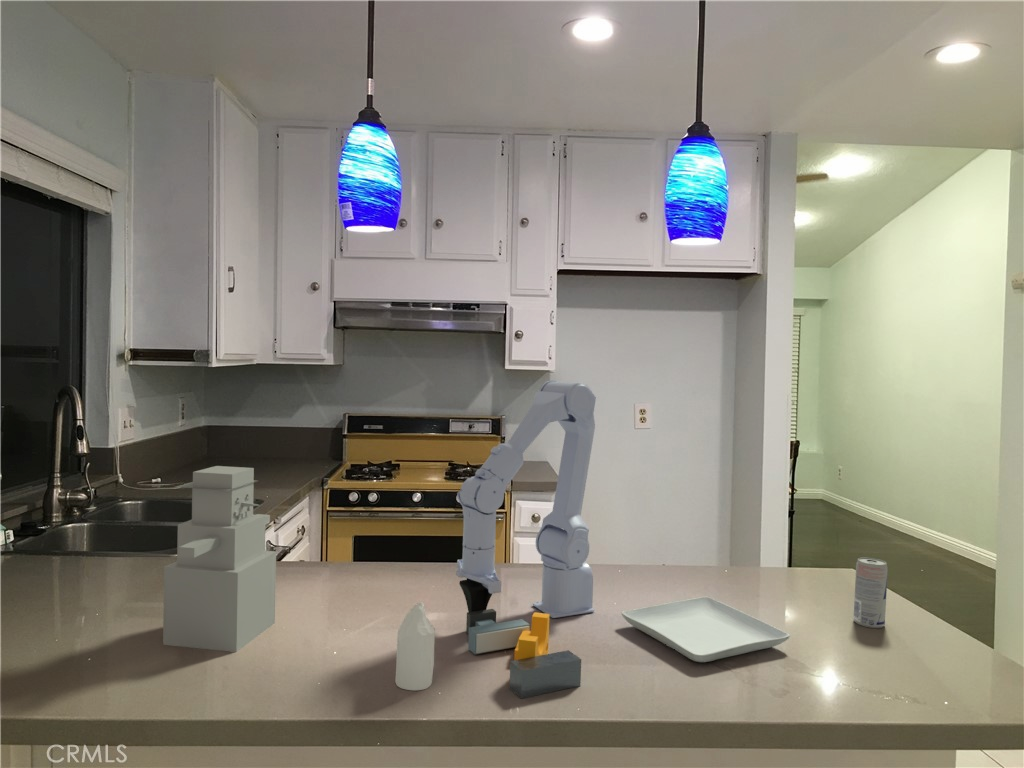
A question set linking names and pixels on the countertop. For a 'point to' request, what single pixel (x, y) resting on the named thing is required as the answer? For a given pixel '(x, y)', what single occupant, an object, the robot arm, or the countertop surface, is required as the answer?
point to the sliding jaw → (492, 632)
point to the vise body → (545, 674)
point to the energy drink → (870, 592)
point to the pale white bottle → (415, 651)
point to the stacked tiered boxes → (220, 566)
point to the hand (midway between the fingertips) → (476, 621)
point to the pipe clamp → (534, 638)
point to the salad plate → (705, 628)
